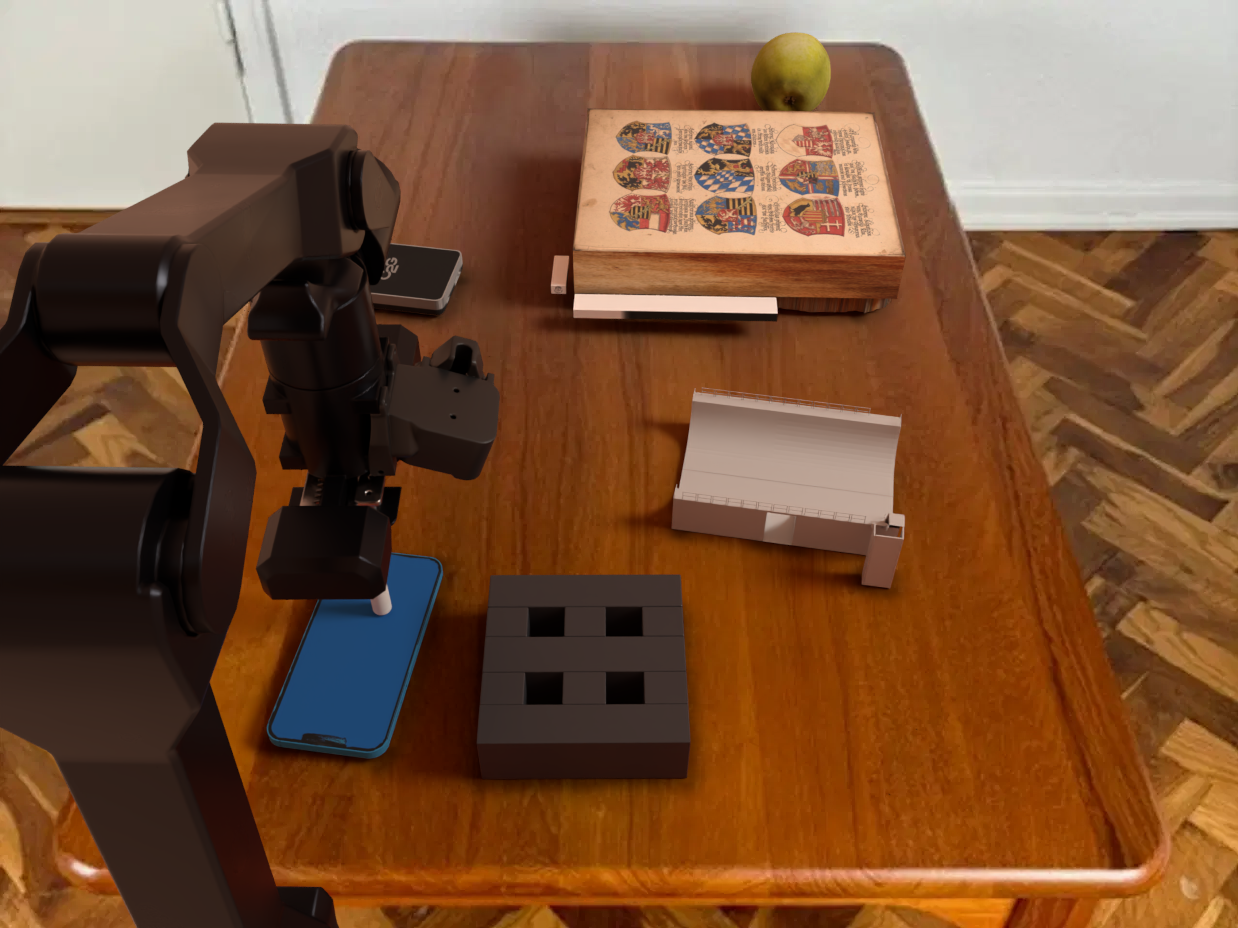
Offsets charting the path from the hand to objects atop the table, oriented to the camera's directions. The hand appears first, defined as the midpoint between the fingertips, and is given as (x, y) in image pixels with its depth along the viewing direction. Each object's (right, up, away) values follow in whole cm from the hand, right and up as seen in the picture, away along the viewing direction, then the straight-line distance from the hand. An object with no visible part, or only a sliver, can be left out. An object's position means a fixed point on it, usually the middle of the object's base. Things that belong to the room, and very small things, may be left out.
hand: (368, 548), depth 72 cm
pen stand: (+13, -9, +2) cm, 16 cm away
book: (+24, +24, +33) cm, 47 cm away
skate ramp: (+27, +2, +13) cm, 30 cm away
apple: (+32, +40, +49) cm, 71 cm away
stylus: (0, -4, +4) cm, 6 cm away
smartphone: (-1, -7, +3) cm, 8 cm away
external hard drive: (-4, +20, +29) cm, 35 cm away
